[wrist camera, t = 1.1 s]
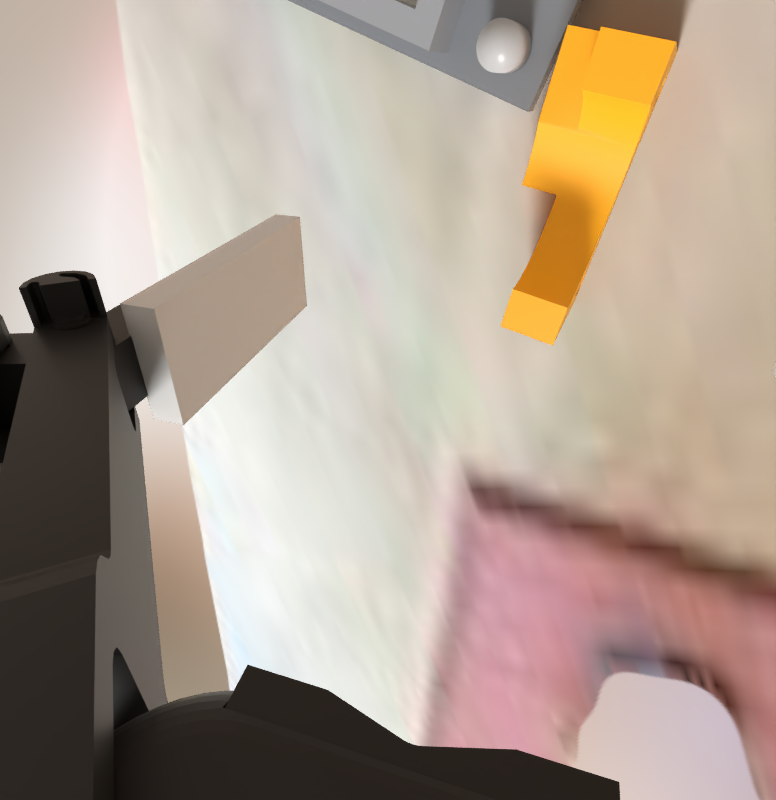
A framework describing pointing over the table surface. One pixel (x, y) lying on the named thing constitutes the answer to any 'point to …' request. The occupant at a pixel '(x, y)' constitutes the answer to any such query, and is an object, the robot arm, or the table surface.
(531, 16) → the chassis
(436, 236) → the table surface
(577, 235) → the orange bracket
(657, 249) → the table surface
